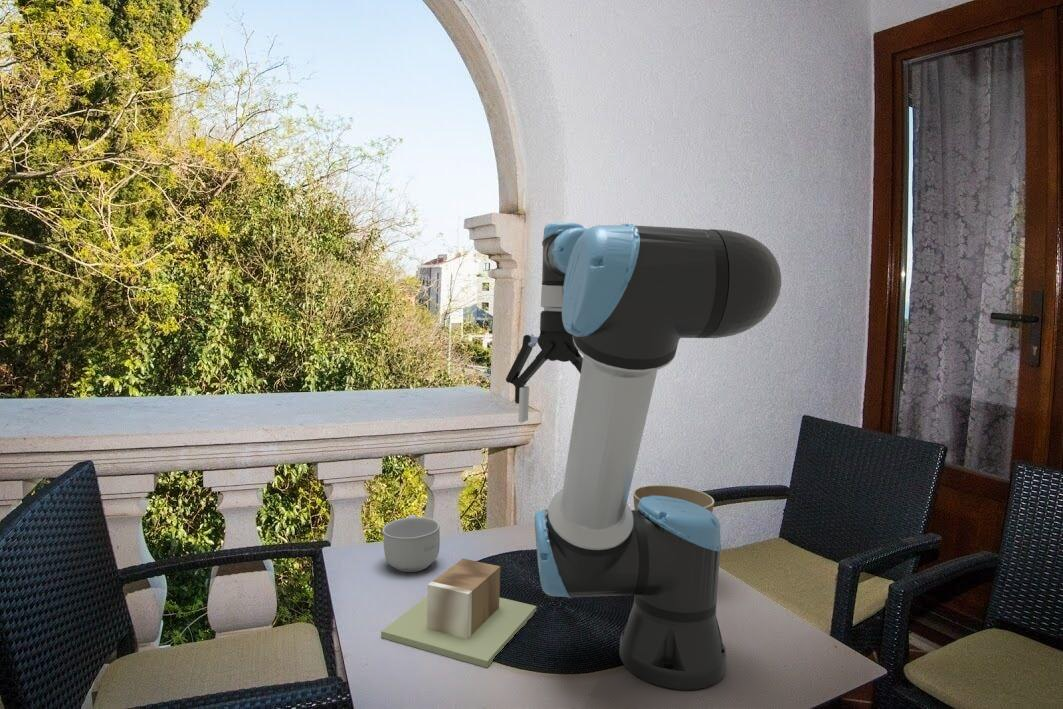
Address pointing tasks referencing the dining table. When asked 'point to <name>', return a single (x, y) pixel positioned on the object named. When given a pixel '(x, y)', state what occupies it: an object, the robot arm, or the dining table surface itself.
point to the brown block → (463, 598)
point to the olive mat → (470, 650)
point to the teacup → (411, 543)
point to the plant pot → (674, 495)
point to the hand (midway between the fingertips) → (556, 425)
